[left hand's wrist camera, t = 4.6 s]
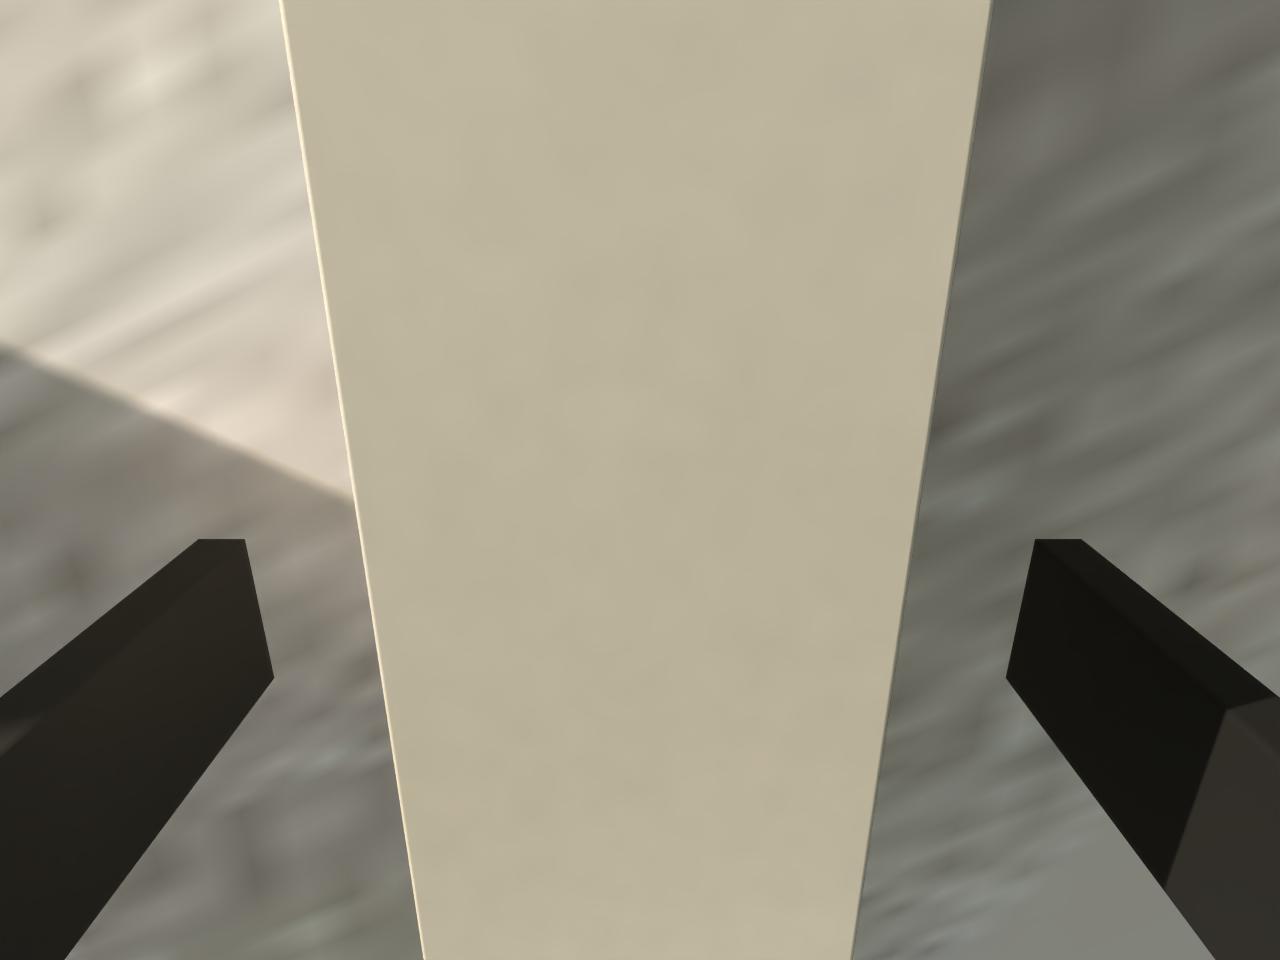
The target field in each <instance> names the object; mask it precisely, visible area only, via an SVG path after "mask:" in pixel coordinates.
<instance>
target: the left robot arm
mask: <svg viewBox="0 0 1280 960" xmlns="http://www.w3.org/2000/svg"><path fill="white" fill-rule="evenodd" d="M273 679H274V675H273V670H272V665H271V661H270V656H269V651H268V646H267V642H266V637H265V632H264V628H263V623H262V618H261V613H260V609H259V604H258V599H257V595H256V590H255V585H254V580H253V576H252V571H251V566H250V562H249V557H248V552H247V547H246V543H245V539H198V540H197V541H196V542H195V543H193V544H192V545H191V546H190V547H188V548H187V549H186V550H185V551H183V552H182V553H181V554H179V555H178V556H177V557H176V558H174V559H173V560H172V561H171V562H169V563H168V564H167V565H166V566H164V567H163V568H162V569H161V570H159V571H158V572H157V573H156V574H154V575H153V576H152V577H151V578H149V579H148V580H147V581H146V582H144V583H143V584H142V585H141V586H139V587H138V588H137V589H136V590H134V591H133V592H132V593H131V594H129V595H128V596H127V597H126V598H124V599H123V600H122V601H121V602H119V603H118V604H117V605H116V606H114V607H113V608H112V609H111V610H109V611H108V612H107V613H106V614H104V615H103V616H102V617H101V618H99V619H98V620H97V621H96V622H94V623H93V624H92V625H91V626H89V627H88V628H87V629H86V630H84V631H83V632H82V633H81V634H79V635H78V636H77V637H76V638H74V639H73V640H72V641H71V642H69V643H68V644H67V645H66V646H64V647H63V648H62V649H61V650H59V651H58V652H57V653H56V654H54V655H53V656H52V657H51V658H49V659H48V660H47V661H46V662H44V663H43V664H42V665H41V666H39V667H38V668H37V669H36V670H34V671H33V672H32V673H31V674H29V675H28V676H27V677H26V678H24V679H23V680H22V681H21V682H19V683H18V684H17V685H16V686H14V687H13V688H12V689H11V690H9V691H8V692H7V693H6V694H4V695H3V696H2V697H0V960H65V958H66V957H67V956H68V954H69V953H70V952H71V950H72V949H73V948H74V946H75V945H76V943H77V942H78V941H79V939H80V938H81V937H82V935H83V934H84V933H85V931H86V930H87V929H88V927H89V926H90V925H91V923H92V922H93V921H94V919H95V918H96V917H97V915H98V914H99V913H100V911H101V910H102V909H103V907H104V906H105V905H106V903H107V902H108V901H109V899H110V898H111V896H112V895H113V894H114V892H115V891H116V890H117V888H118V887H119V886H120V884H121V883H122V882H123V880H124V879H125V878H126V876H127V875H128V874H129V872H130V871H131V870H132V868H133V867H134V866H135V864H136V863H137V862H138V860H139V859H140V858H141V856H142V855H143V853H144V852H145V851H146V849H147V848H148V847H149V845H150V844H151V843H152V841H153V840H154V839H155V837H156V836H157V835H158V833H159V832H160V831H161V829H162V828H163V827H164V825H165V824H166V823H167V821H168V820H169V819H170V817H171V816H172V815H173V813H174V812H175V811H176V809H177V808H178V806H179V805H180V804H181V802H182V801H183V800H184V798H185V797H186V796H187V794H188V793H189V792H190V790H191V789H192V788H193V786H194V785H195V784H196V782H197V781H198V780H199V778H200V777H201V776H202V774H203V773H204V772H205V770H206V769H207V768H208V766H209V765H210V764H211V762H212V761H213V759H214V758H215V757H216V755H217V754H218V753H219V751H220V750H221V749H222V747H223V746H224V745H225V743H226V742H227V741H228V739H229V738H230V737H231V735H232V734H233V733H234V731H235V730H236V729H237V727H238V726H239V725H240V723H241V722H242V721H243V719H244V718H245V716H246V715H247V714H248V712H249V711H250V710H251V708H252V707H253V706H254V704H255V703H256V702H257V700H258V699H259V698H260V696H261V695H262V694H263V692H264V691H265V690H266V688H267V687H268V686H269V684H270V683H271V682H272V680H273ZM1006 679H1007V680H1008V682H1009V683H1010V684H1011V686H1012V687H1013V688H1014V690H1015V691H1016V692H1017V694H1018V695H1019V696H1020V698H1021V699H1022V700H1023V702H1024V703H1025V704H1026V706H1027V707H1028V708H1029V710H1030V711H1031V712H1032V714H1033V715H1034V716H1035V718H1036V719H1037V721H1038V722H1039V723H1040V725H1041V726H1042V727H1043V729H1044V730H1045V731H1046V733H1047V734H1048V735H1049V737H1050V738H1051V739H1052V741H1053V742H1054V743H1055V745H1056V746H1057V747H1058V749H1059V750H1060V751H1061V753H1062V754H1063V755H1064V757H1065V758H1066V759H1067V761H1068V762H1069V764H1070V765H1071V766H1072V768H1073V769H1074V770H1075V772H1076V773H1077V774H1078V776H1079V777H1080V778H1081V780H1082V781H1083V782H1084V784H1085V785H1086V786H1087V788H1088V789H1089V790H1090V792H1091V793H1092V794H1093V796H1094V797H1095V798H1096V800H1097V801H1098V802H1099V804H1100V805H1101V806H1102V808H1103V809H1104V811H1105V812H1106V813H1107V815H1108V816H1109V817H1110V819H1111V820H1112V821H1113V823H1114V824H1115V825H1116V827H1117V828H1118V829H1119V831H1120V832H1121V833H1122V835H1123V836H1124V837H1125V839H1126V840H1127V841H1128V843H1129V844H1130V845H1131V847H1132V848H1133V849H1134V851H1135V852H1136V854H1137V855H1138V856H1139V858H1140V859H1141V860H1142V862H1143V863H1144V864H1145V866H1146V867H1147V868H1148V870H1149V871H1150V872H1151V874H1152V875H1153V876H1154V878H1155V879H1156V880H1157V882H1158V883H1159V884H1160V886H1161V887H1162V888H1163V890H1164V891H1165V892H1166V894H1167V895H1168V896H1169V898H1170V899H1171V901H1172V902H1173V903H1174V905H1175V906H1176V907H1177V909H1178V910H1179V911H1180V913H1181V914H1182V915H1183V917H1184V918H1185V919H1186V921H1187V922H1188V923H1189V925H1190V926H1191V927H1192V929H1193V930H1194V931H1195V933H1196V934H1197V935H1198V937H1199V938H1200V939H1201V941H1202V942H1203V943H1204V945H1205V946H1206V947H1207V949H1208V950H1209V952H1210V953H1211V954H1212V956H1213V957H1214V958H1215V959H1216V960H1280V697H1278V696H1277V695H1276V694H1274V693H1273V692H1272V691H1271V690H1269V689H1268V688H1267V687H1266V686H1264V685H1263V684H1262V683H1261V682H1259V681H1258V680H1257V679H1256V678H1254V677H1253V676H1252V675H1251V674H1249V673H1248V672H1247V671H1246V670H1244V669H1243V668H1242V667H1241V666H1239V665H1238V664H1237V663H1236V662H1234V661H1233V660H1232V659H1231V658H1229V657H1228V656H1227V655H1226V654H1224V653H1223V652H1222V651H1221V650H1219V649H1218V648H1217V647H1216V646H1214V645H1213V644H1212V643H1211V642H1209V641H1208V640H1207V639H1206V638H1204V637H1203V636H1202V635H1201V634H1199V633H1198V632H1197V631H1196V630H1194V629H1193V628H1192V627H1191V626H1189V625H1188V624H1187V623H1186V622H1184V621H1183V620H1182V619H1181V618H1179V617H1178V616H1177V615H1176V614H1174V613H1173V612H1172V611H1171V610H1169V609H1168V608H1167V607H1166V606H1164V605H1163V604H1162V603H1161V602H1159V601H1158V600H1157V599H1156V598H1154V597H1153V596H1152V595H1151V594H1149V593H1148V592H1147V591H1146V590H1144V589H1143V588H1142V587H1141V586H1139V585H1138V584H1137V583H1136V582H1134V581H1133V580H1132V579H1131V578H1129V577H1128V576H1127V575H1126V574H1124V573H1123V572H1122V571H1121V570H1119V569H1118V568H1117V567H1116V566H1114V565H1113V564H1112V563H1111V562H1109V561H1108V560H1107V559H1106V558H1104V557H1103V556H1102V555H1101V554H1099V553H1098V552H1097V551H1095V550H1094V549H1093V548H1092V547H1090V546H1089V545H1088V544H1087V543H1085V542H1084V541H1083V540H1082V539H1035V543H1034V547H1033V552H1032V557H1031V562H1030V566H1029V571H1028V576H1027V580H1026V585H1025V590H1024V595H1023V599H1022V604H1021V609H1020V613H1019V618H1018V623H1017V628H1016V632H1015V637H1014V642H1013V646H1012V651H1011V656H1010V661H1009V665H1008V670H1007V675H1006Z"/></svg>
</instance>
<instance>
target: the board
mask: <svg viewBox="0 0 1280 960" xmlns="http://www.w3.org/2000/svg"><path fill="white" fill-rule="evenodd" d="M994 1H995V0H279V5H280V11H281V18H282V25H283V31H284V38H285V44H286V51H287V58H288V64H289V71H290V78H291V84H292V91H293V97H294V104H295V111H296V117H297V124H298V131H299V137H300V144H301V150H302V157H303V164H304V170H305V177H306V184H307V190H308V197H309V203H310V210H311V217H312V223H313V230H314V237H315V243H316V250H317V256H318V263H319V270H320V276H321V283H322V290H323V296H324V303H325V309H326V316H327V323H328V329H329V336H330V343H331V349H332V356H333V362H334V369H335V376H336V382H337V389H338V396H339V402H340V409H341V416H342V422H343V429H344V435H345V442H346V449H347V455H348V462H349V469H350V475H351V482H352V488H353V495H354V502H355V508H356V515H357V522H358V528H359V535H360V541H361V548H362V555H363V561H364V568H365V575H366V581H367V588H368V594H369V601H370V608H371V614H372V621H373V628H374V634H375V641H376V647H377V654H378V661H379V667H380V674H381V681H382V687H383V694H384V700H385V707H386V714H387V720H388V727H389V734H390V740H391V747H392V753H393V760H394V767H395V773H396V780H397V787H398V793H399V800H400V806H401V813H402V820H403V826H404V833H405V840H406V846H407V853H408V859H409V866H410V873H411V879H412V886H413V893H414V899H415V906H416V913H417V919H418V926H419V932H420V939H421V946H422V952H423V959H424V960H853V953H854V946H855V940H856V933H857V926H858V919H859V913H860V906H861V899H862V892H863V886H864V879H865V872H866V865H867V859H868V852H869V845H870V838H871V832H872V825H873V818H874V811H875V805H876V798H877V791H878V784H879V778H880V771H881V764H882V757H883V751H884V744H885V737H886V730H887V724H888V717H889V710H890V703H891V697H892V690H893V683H894V676H895V670H896V663H897V656H898V649H899V643H900V636H901V629H902V622H903V616H904V609H905V602H906V595H907V589H908V582H909V575H910V568H911V562H912V555H913V548H914V541H915V535H916V528H917V521H918V514H919V508H920V501H921V494H922V487H923V481H924V474H925V467H926V460H927V454H928V447H929V440H930V433H931V427H932V420H933V413H934V406H935V400H936V393H937V386H938V379H939V373H940V366H941V359H942V352H943V346H944V339H945V332H946V325H947V319H948V312H949V305H950V298H951V292H952V285H953V278H954V271H955V265H956V258H957V251H958V244H959V238H960V231H961V224H962V217H963V211H964V204H965V197H966V190H967V184H968V177H969V170H970V163H971V157H972V150H973V143H974V136H975V130H976V123H977V116H978V109H979V103H980V96H981V89H982V82H983V76H984V69H985V62H986V55H987V49H988V42H989V35H990V28H991V21H992V15H993V8H994Z"/></svg>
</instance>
